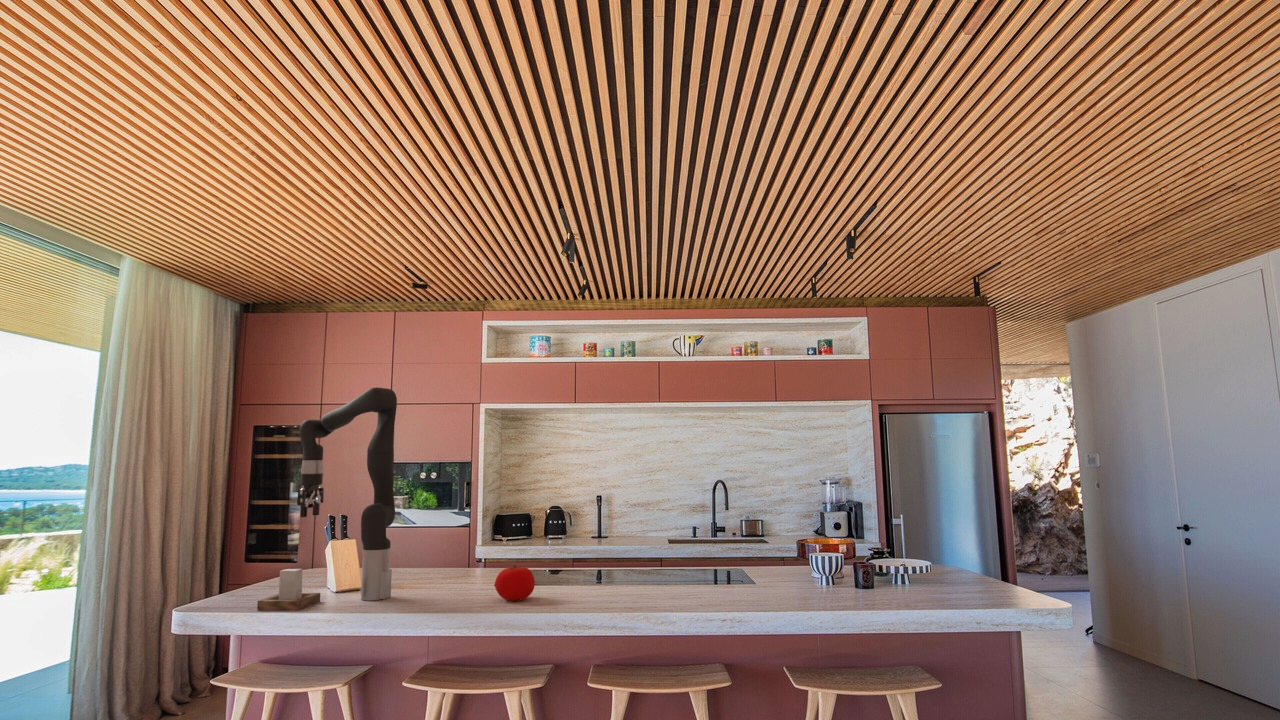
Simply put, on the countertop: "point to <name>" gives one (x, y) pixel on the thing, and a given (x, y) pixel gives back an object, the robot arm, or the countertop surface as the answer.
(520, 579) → the tomato
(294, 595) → the skincare box
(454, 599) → the countertop surface
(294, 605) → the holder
